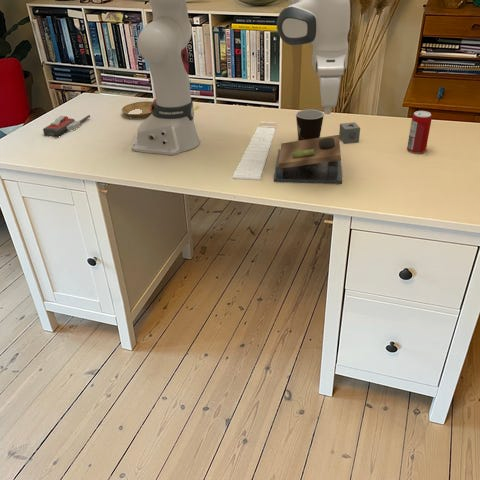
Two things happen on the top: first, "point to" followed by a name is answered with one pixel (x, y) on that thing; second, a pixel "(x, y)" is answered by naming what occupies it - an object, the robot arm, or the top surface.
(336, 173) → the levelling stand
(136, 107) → the plant saucer
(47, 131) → the toy chainsaw
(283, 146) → the levelling board
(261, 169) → the keyboard
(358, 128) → the dice cube
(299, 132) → the coffee mug
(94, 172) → the top surface
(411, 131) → the soda can
